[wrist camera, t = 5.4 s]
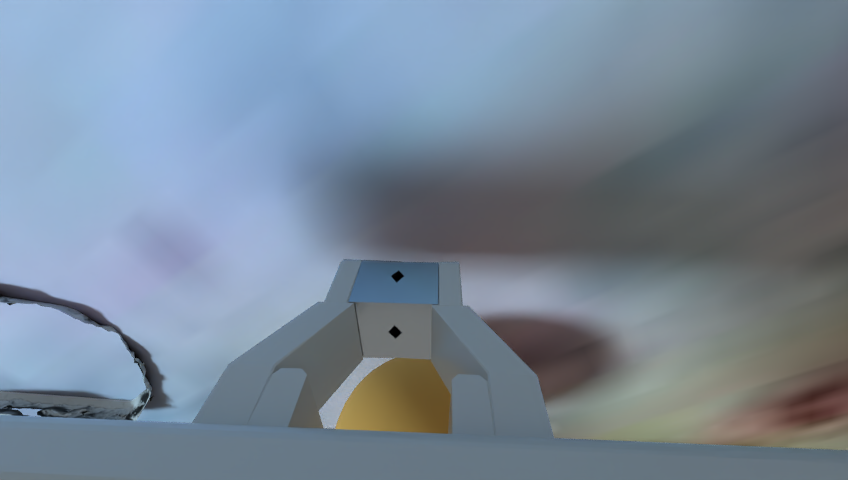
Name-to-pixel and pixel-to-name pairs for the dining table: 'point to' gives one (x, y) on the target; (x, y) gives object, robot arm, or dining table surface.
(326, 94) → the dining table surface
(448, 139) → the dining table surface
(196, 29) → the dining table surface
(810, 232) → the dining table surface
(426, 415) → the ball
